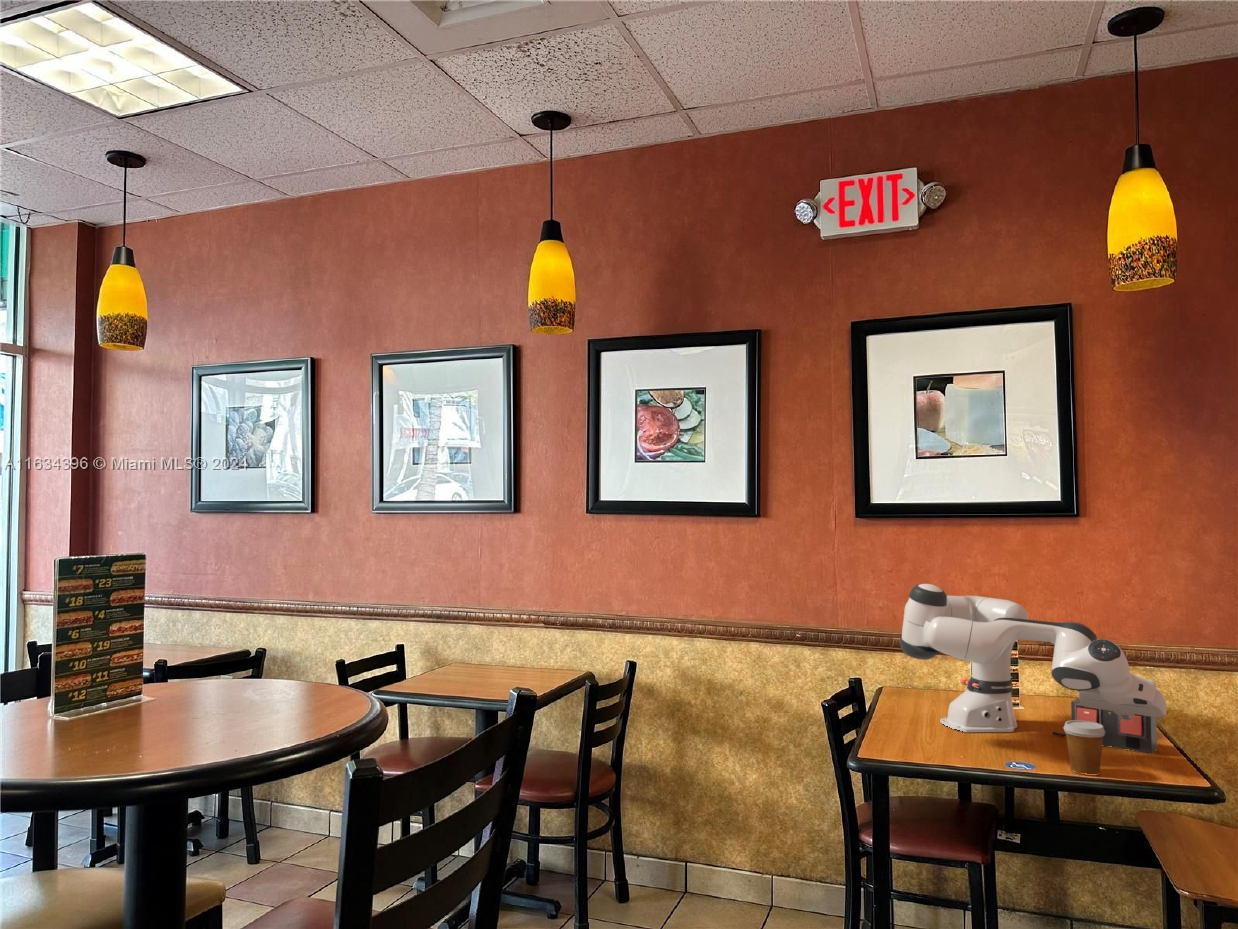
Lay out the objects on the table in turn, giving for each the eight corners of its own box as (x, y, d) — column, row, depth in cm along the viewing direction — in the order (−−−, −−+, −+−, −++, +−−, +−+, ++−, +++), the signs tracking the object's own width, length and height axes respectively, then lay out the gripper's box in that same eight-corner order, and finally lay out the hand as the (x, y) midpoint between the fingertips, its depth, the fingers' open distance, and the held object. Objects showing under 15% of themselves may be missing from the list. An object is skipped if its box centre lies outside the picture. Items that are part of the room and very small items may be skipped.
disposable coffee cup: (1105, 780, 216) (1104, 731, 217) (1062, 774, 221) (1061, 726, 222) (1107, 770, 224) (1106, 722, 225) (1066, 764, 229) (1065, 718, 230)
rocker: (1097, 728, 245) (1097, 710, 247) (1095, 728, 245) (1096, 710, 246) (1077, 725, 249) (1078, 707, 250) (1076, 725, 248) (1077, 707, 249)
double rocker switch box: (1157, 749, 242) (1155, 708, 242) (1151, 755, 237) (1149, 712, 237) (1056, 733, 260) (1055, 694, 260) (1049, 737, 255) (1048, 698, 255)
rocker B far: (1142, 734, 238) (1141, 716, 239) (1141, 735, 237) (1140, 717, 238) (1121, 731, 242) (1121, 713, 242) (1120, 732, 241) (1119, 714, 241)
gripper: (1071, 691, 235) (1082, 721, 242) (1158, 702, 221) (1168, 734, 228) (1075, 672, 239) (1087, 702, 245) (1162, 682, 225) (1171, 714, 231)
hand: (1127, 717), depth 236 cm, fingers closed
